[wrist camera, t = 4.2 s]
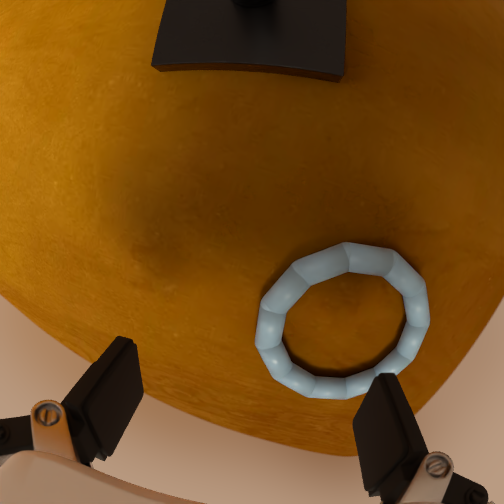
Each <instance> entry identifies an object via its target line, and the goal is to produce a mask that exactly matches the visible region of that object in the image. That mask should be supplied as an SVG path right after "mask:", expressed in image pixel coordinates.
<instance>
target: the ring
mask: <svg viewBox="0 0 504 504" xmlns="http://www.w3.org/2000/svg"><path fill="white" fill-rule="evenodd" d="M346 272H354V273H361V274H369V275H376V276H382V277H383V278H385V279H386V280H387V281H388V282H389V283H390V284H391V285H392V286H393V287H394V288H396V289H397V290H398V291H399V292H400V293H401V294H402V295H403V300H404V306H405V311H406V317H407V322H406V324H405V327H404V330H403V332H402V335H401V337H400V340H399V342H398V344H397V347H396V348H395V349H394V350H392V351H391V352H390V353H389V354H388V355H387V356H386V357H385V358H384V359H383V360H382V361H381V362H379V363H378V364H377V365H376V366H375V367H374V368H371V369H368V370H366V371H363V372H360V373H357V374H354V375H351V376H349V377H346V378H337V377H322V376H314V375H312V374H311V373H309V372H307V371H306V370H304V369H302V368H301V367H299V366H297V365H296V364H294V363H292V361H291V359H290V357H289V355H288V353H287V351H286V349H285V347H284V344H283V342H282V340H281V338H282V334H283V329H284V324H285V319H286V313H287V311H288V310H289V309H290V308H291V307H292V306H293V305H294V304H295V303H296V301H297V300H298V299H299V298H300V297H301V296H302V295H303V294H304V293H305V292H306V291H307V289H308V288H309V287H310V286H311V285H314V284H317V283H319V282H322V281H325V280H327V279H330V278H333V277H335V276H338V275H341V274H343V273H346ZM429 324H430V313H429V304H428V297H427V290H426V284H425V281H424V279H423V278H422V277H421V276H420V275H419V274H418V273H417V272H416V271H415V270H414V269H413V268H412V267H411V266H410V265H409V264H408V263H407V262H406V261H405V260H404V259H403V258H402V257H401V256H400V255H399V254H398V253H397V252H396V251H394V250H392V249H388V248H382V247H376V246H370V245H363V244H357V243H351V242H342V243H340V244H337V245H335V246H332V247H329V248H327V249H324V250H322V251H319V252H316V253H314V254H311V255H308V256H306V257H303V258H300V259H298V260H296V261H294V262H293V263H292V264H291V265H290V266H289V268H288V269H287V270H286V271H285V272H284V273H283V275H282V276H281V277H280V278H279V279H278V280H277V282H276V283H275V284H274V285H273V286H272V287H271V289H270V290H269V291H268V292H267V293H266V294H265V295H264V297H263V298H262V300H261V302H260V309H259V315H258V322H257V329H256V336H255V345H256V348H257V349H258V351H259V353H260V355H261V357H262V359H263V361H264V363H265V365H266V366H267V368H268V370H269V372H270V374H271V376H272V377H273V378H274V379H275V380H277V381H278V382H280V383H282V384H284V385H285V386H287V387H289V388H291V389H292V390H294V391H296V392H298V393H300V394H301V395H303V396H305V397H310V398H325V399H349V398H352V397H355V396H358V395H361V394H363V393H366V392H368V390H369V388H370V386H371V384H372V381H373V379H374V378H375V376H378V375H379V374H380V373H395V375H397V374H398V373H400V372H401V371H402V370H403V369H404V368H405V367H406V366H407V365H408V364H410V363H411V362H412V361H413V360H414V358H415V356H416V354H417V352H418V350H419V348H420V345H421V343H422V341H423V339H424V336H425V334H426V332H427V329H428V327H429Z"/></svg>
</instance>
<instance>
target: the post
mask: <svg viewBox="0 0 504 504" xmlns="http://www.w3.org/2000/svg"><path fill="white" fill-rule="evenodd" d="M346 3H347V0H166V4H165V7H164V11H163V15H162V18H161V22H160V26H159V30H158V35H157V39H156V43H155V48H154V53H153V57H152V63H151V66H152V67H154V68H155V69H157V70H158V71H160V72H163V71H181V70H236V71H254V72H267V73H277V74H286V75H294V76H301V77H308V78H314V79H320V80H326V81H331V82H336V83H339V82H340V80H341V79H342V77H343V76H344V63H345V43H346Z"/></svg>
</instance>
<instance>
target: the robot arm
mask: <svg viewBox="0 0 504 504" xmlns="http://www.w3.org/2000/svg"><path fill="white" fill-rule="evenodd" d="M143 393H144V390H143V384H142V378H141V372H140V365H139V358H138V351H137V345H136V344H134V343H133V340H132V339H129V338H126V337H122V336H117V337H116V338H115V340H114V341H113V342H112V343H111V344H110V346H109V347H108V348H107V349H106V350H105V352H104V353H103V354H102V355H101V356H100V358H99V359H98V360H97V361H96V362H94V363H93V364H92V365H91V366H90V367H89V368H88V370H87V371H86V372H85V374H83V376H82V377H81V378H80V379H79V381H78V382H77V383H76V384H75V386H74V387H73V388H72V389H71V391H70V392H69V393H68V395H67V396H66V397H65V398H64V400H63V401H62V402H61V403H58V402H57V401H53V400H43V401H40V402H38V403H37V404H35V405H34V407H33V408H32V410H31V415H27V416H21V417H14V418H7V419H0V504H205V503H200V502H195V501H190V500H186V499H181V498H178V497H174V496H170V495H166V494H162V493H159V492H156V491H152V490H149V489H146V488H143V487H140V486H137V485H134V484H131V483H128V482H126V481H123V480H120V479H117V478H115V477H112V476H110V475H107V474H104V473H102V472H100V471H97V470H95V469H94V468H93V465H92V462H93V460H94V458H95V457H96V458H98V459H100V460H103V461H105V460H106V458H107V456H111V455H112V454H113V452H114V450H115V448H116V447H117V444H118V443H119V441H120V439H121V437H122V435H123V433H124V431H125V429H126V427H127V426H128V424H129V422H130V420H131V418H132V416H133V414H134V412H135V410H136V408H137V406H138V405H139V403H140V401H141V399H142V397H143ZM353 431H354V436H355V441H356V446H357V451H358V456H359V461H360V467H361V472H362V478H363V483H364V489H365V490H366V491H368V492H369V497H373V496H380V497H381V502H380V504H495V503H494V502H492V501H491V502H490V503H489V502H488V493H487V490H486V489H485V488H484V487H483V486H482V485H480V484H478V483H475V482H473V481H471V480H469V479H467V478H465V477H462V476H460V475H458V474H456V473H454V472H453V470H454V465H453V462H452V460H451V458H450V457H449V456H448V455H446V454H445V453H442V452H432V453H429V452H428V450H427V447H426V444H425V442H424V439H423V436H422V434H421V431H420V429H419V426H418V424H417V421H416V419H415V417H414V414H413V412H412V410H411V407H410V406H409V404H408V401H407V399H406V397H405V395H404V392H403V390H402V388H401V386H400V383H399V381H398V379H397V377H396V375H395V373H380V374H379V375H378V376H375V378H374V379H373V381H372V384H371V386H370V388H369V390H368V392H367V394H366V396H365V398H364V400H363V402H362V404H361V406H360V408H359V410H358V411H357V413H356V415H355V417H354V419H353Z"/></svg>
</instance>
